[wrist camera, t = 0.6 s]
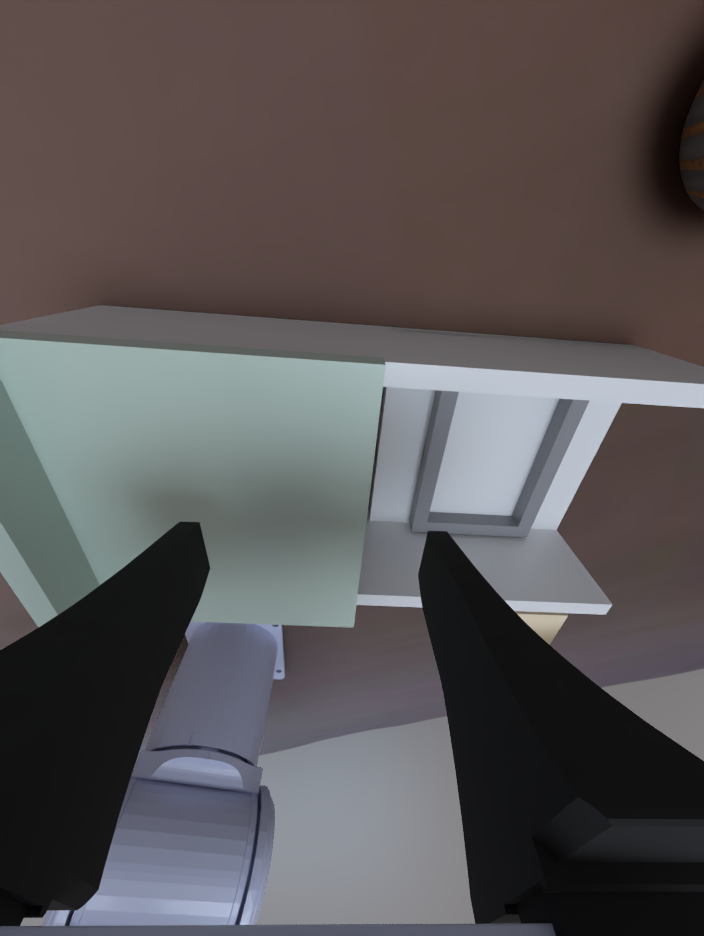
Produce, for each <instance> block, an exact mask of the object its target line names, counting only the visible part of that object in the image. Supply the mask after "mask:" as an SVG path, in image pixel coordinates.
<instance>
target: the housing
mask: <svg viewBox="0 0 704 936" xmlns="http://www.w3.org/2000/svg"><path fill="white" fill-rule="evenodd" d="M0 331H14V332H28V333H42V334H57V335H71V336H85V337H99V338H113V339H127V340H141V341H156V342H170V343H184V344H198V345H212V346H226V347H240V348H255V349H269V350H283V351H297V352H311V353H325V354H339V355H353V356H368V357H382V358H384V361H385V364H386V366H385V374H384V382H383V387H384V392H383V400H382V409H381V417H380V425H379V433H378V441H377V449H376V457H375V465H374V473H373V481H372V489H371V497H370V505H369V510H368V514H367V522H366V530H365V538H364V547H363V555H362V563H361V571H360V579H359V588H358V596H357V604H356V605H375V606H400V607H422V602H421V595H420V588H419V580H418V572H419V568H420V563H421V559H422V555H423V550H424V546H425V542H426V537H427V533H428V531H447V532H448V533H449V534H450V536H451V537H452V538H453V539H454V541H455V542H456V543H457V545H458V546H459V547H460V548H461V550H462V551H463V552H464V553H465V555H466V556H467V557H468V559H469V560H470V561H471V562H472V564H473V565H474V566H475V567H476V568H477V570H478V571H479V572H480V573H481V574H482V576H483V577H484V578H485V579H486V580H487V581H488V583H489V584H490V585H491V586H492V587H493V588H494V590H495V591H496V592H497V593H498V594H499V595H500V596H501V597H502V599H503V600H504V601H505V602H506V603H507V604H508V605H509V606H510V607H511V608H512V609H513V610H514V611H527V612H552V613H578V614H603V615H605V614H606V613H607V612H608V610H609V609H610V608H611V606H612V603H611V602H610V601H609V599H608V598H607V597H606V595H605V594H604V593H603V591H602V590H601V589H600V587H599V586H598V585H597V583H596V582H595V581H594V579H593V578H592V577H591V575H590V574H589V573H588V571H587V570H586V569H585V567H584V566H583V565H582V563H581V562H580V561H579V559H578V558H577V557H576V555H575V554H574V553H573V551H572V550H571V549H570V547H569V546H568V545H567V543H566V542H565V541H564V539H563V538H562V537H561V535H560V534H559V533H558V531H557V528H558V526H559V524H560V522H561V520H562V518H563V516H564V514H565V512H566V510H567V508H568V506H569V505H570V503H571V501H572V499H573V497H574V495H575V493H576V491H577V489H578V487H579V485H580V483H581V481H582V479H583V477H584V475H585V473H586V471H587V470H588V468H589V466H590V464H591V462H592V460H593V458H594V456H595V454H596V452H597V450H598V448H599V446H600V444H601V442H602V440H603V438H604V436H605V435H606V433H607V431H608V429H609V427H610V425H611V423H612V421H613V419H614V417H615V415H616V413H617V411H618V409H619V407H620V405H621V403H633V404H648V405H663V406H678V407H693V408H704V367H702V366H699V365H695V364H692V363H689V362H686V361H683V360H680V359H677V358H673V357H670V356H667V355H664V354H661V353H658V352H654V351H651V350H648V349H645V348H642V347H639V346H635V345H627V344H614V343H600V342H587V341H574V340H560V339H547V338H533V337H520V336H507V335H493V334H480V333H466V332H453V331H440V330H426V329H413V328H400V327H386V326H373V325H359V324H346V323H333V322H319V321H306V320H292V319H279V318H266V317H252V316H239V315H225V314H212V313H199V312H185V311H172V310H158V309H145V308H132V307H118V306H105V305H98V306H93V307H88V308H83V309H78V310H73V311H68V312H63V313H58V314H54V315H49V316H44V317H39V318H34V319H29V320H24V321H19V322H14V323H9V324H4V325H0Z"/></svg>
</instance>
